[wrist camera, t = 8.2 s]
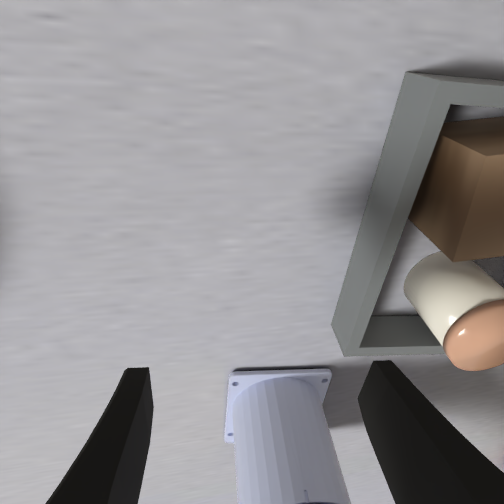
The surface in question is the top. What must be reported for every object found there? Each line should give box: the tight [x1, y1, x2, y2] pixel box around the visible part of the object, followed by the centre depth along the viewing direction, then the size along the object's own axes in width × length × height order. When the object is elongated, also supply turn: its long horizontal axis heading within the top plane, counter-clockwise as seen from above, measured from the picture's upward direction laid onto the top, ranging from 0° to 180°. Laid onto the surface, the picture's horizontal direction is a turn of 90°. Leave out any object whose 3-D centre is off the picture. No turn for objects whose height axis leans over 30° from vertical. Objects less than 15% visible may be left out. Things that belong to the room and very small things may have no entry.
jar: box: [404, 251, 504, 371], centre depth 21 cm, size 5×5×6 cm
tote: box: [331, 72, 504, 357], centre depth 20 cm, size 16×13×3 cm
